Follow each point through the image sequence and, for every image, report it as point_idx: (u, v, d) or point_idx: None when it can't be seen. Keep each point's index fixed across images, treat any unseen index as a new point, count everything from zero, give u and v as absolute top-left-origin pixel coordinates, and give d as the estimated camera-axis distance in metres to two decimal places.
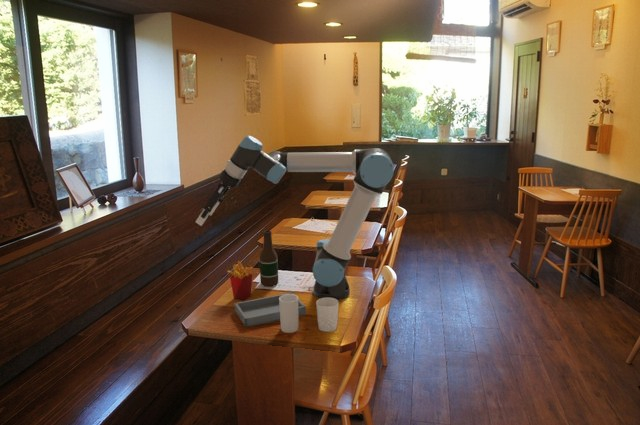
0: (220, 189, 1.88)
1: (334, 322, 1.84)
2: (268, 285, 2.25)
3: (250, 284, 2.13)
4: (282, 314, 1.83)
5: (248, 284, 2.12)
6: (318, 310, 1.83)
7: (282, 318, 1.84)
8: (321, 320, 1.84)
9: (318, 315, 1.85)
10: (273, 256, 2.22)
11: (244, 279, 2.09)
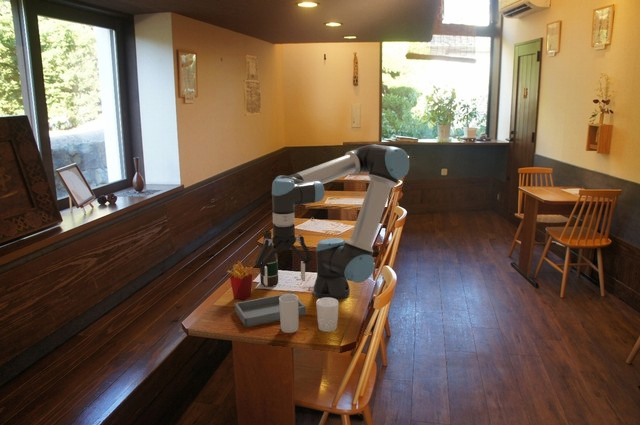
0: None
1: (334, 322, 1.84)
2: (268, 285, 2.25)
3: (250, 284, 2.13)
4: (282, 314, 1.83)
5: (248, 284, 2.12)
6: (318, 310, 1.84)
7: (282, 318, 1.84)
8: (321, 320, 1.84)
9: (318, 315, 1.85)
10: (273, 256, 2.22)
11: (244, 279, 2.09)
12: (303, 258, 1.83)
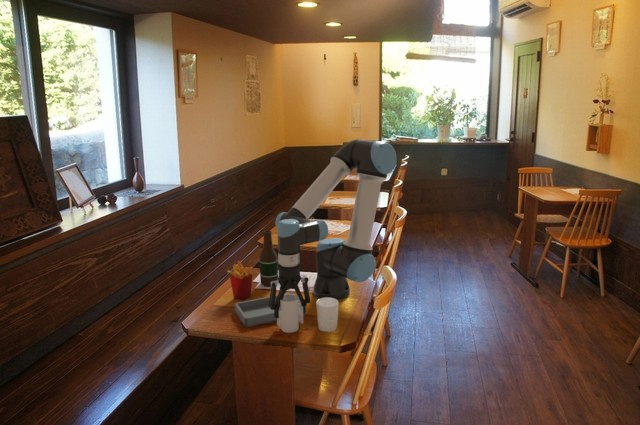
0: None
1: (334, 322, 1.84)
2: (268, 285, 2.25)
3: (250, 284, 2.13)
4: (282, 314, 1.83)
5: (248, 284, 2.12)
6: (318, 310, 1.84)
7: (282, 318, 1.84)
8: (321, 320, 1.84)
9: (318, 315, 1.85)
10: (273, 256, 2.22)
11: (244, 279, 2.09)
12: (302, 300, 1.87)
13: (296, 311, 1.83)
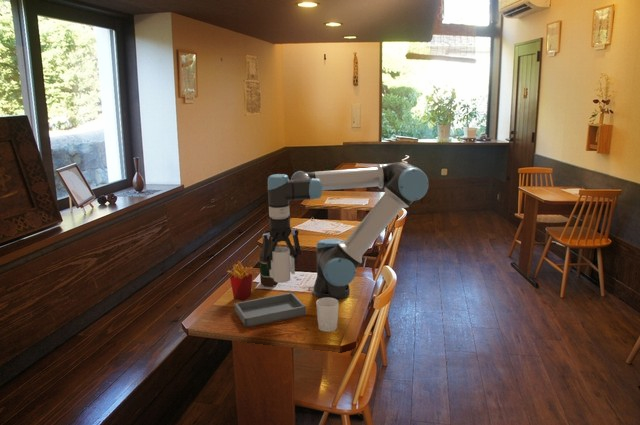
0: None
1: (334, 322, 1.84)
2: (268, 285, 2.25)
3: (250, 284, 2.13)
4: (275, 265, 1.93)
5: (248, 284, 2.12)
6: (318, 310, 1.83)
7: (275, 269, 1.93)
8: (321, 320, 1.84)
9: (318, 315, 1.85)
10: None
11: (244, 279, 2.09)
12: (293, 252, 1.96)
13: (287, 262, 1.93)
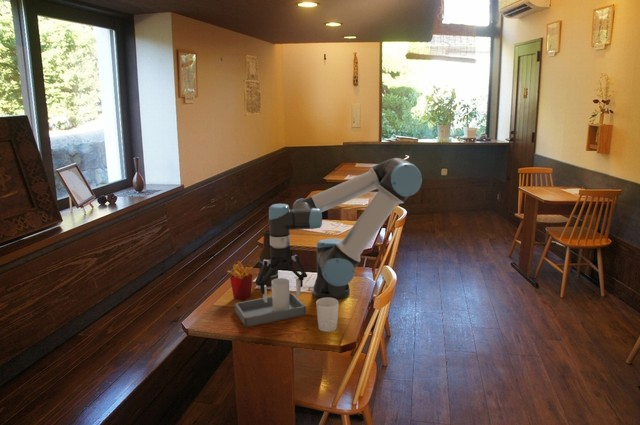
0: None
1: (334, 322, 1.84)
2: (268, 285, 2.25)
3: (250, 284, 2.13)
4: (274, 296, 1.96)
5: (248, 284, 2.12)
6: (318, 310, 1.83)
7: (274, 300, 1.97)
8: (321, 320, 1.84)
9: (318, 315, 1.85)
10: None
11: (244, 279, 2.09)
12: (298, 275, 2.00)
13: (287, 293, 1.97)
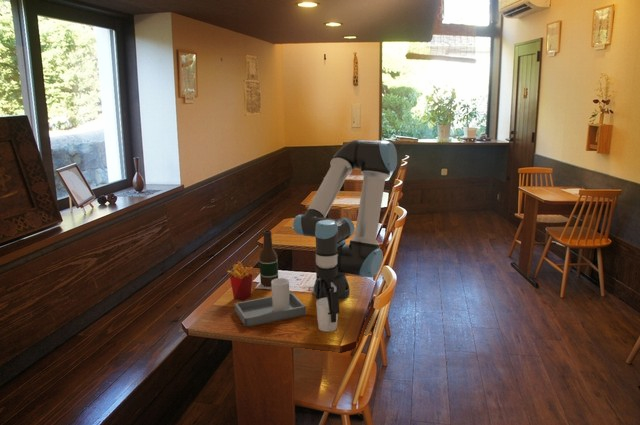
0: None
1: None
2: (268, 285, 2.25)
3: (250, 284, 2.13)
4: (274, 296, 1.96)
5: (248, 284, 2.12)
6: (318, 310, 1.83)
7: (274, 300, 1.97)
8: (321, 320, 1.84)
9: (318, 315, 1.85)
10: (273, 256, 2.22)
11: (244, 279, 2.09)
12: None
13: (287, 293, 1.97)
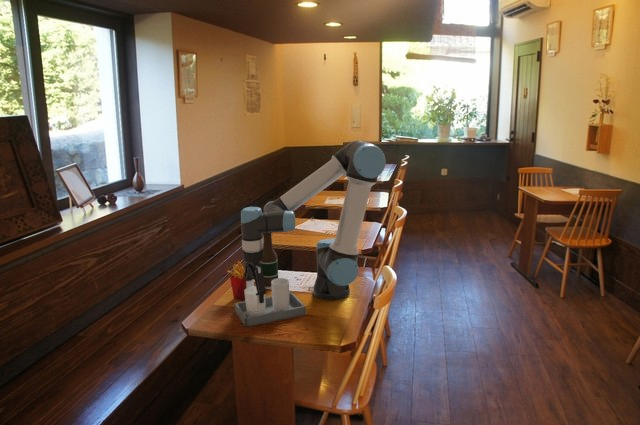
0: None
1: None
2: (268, 285, 2.25)
3: None
4: (274, 296, 1.96)
5: None
6: (246, 297, 1.93)
7: (274, 300, 1.97)
8: (248, 307, 1.94)
9: (246, 302, 1.94)
10: (273, 256, 2.22)
11: (244, 279, 2.09)
12: None
13: (287, 293, 1.97)
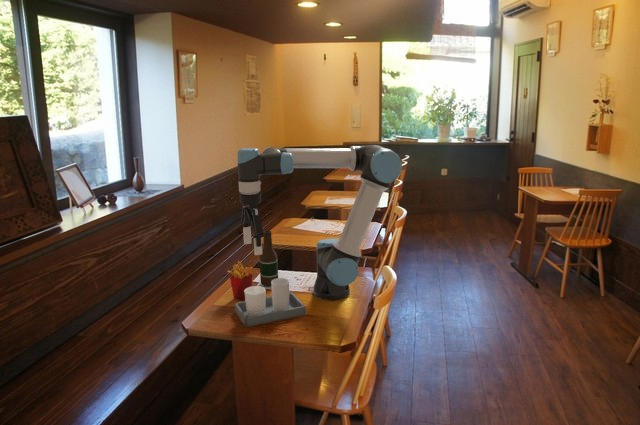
0: None
1: (261, 309, 1.94)
2: (268, 285, 2.25)
3: (250, 284, 2.13)
4: (274, 296, 1.96)
5: (248, 284, 2.12)
6: (246, 298, 1.93)
7: (274, 300, 1.97)
8: (248, 307, 1.94)
9: (246, 302, 1.94)
10: (273, 256, 2.22)
11: (244, 279, 2.09)
12: None
13: (287, 293, 1.97)
